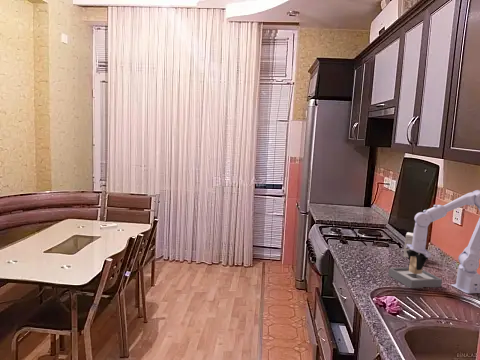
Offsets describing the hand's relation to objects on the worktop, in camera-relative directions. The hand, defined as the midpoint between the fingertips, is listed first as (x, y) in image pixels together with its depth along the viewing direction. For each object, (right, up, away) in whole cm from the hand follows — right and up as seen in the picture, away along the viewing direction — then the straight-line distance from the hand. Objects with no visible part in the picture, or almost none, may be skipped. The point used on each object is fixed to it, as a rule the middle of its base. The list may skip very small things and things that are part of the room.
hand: (415, 267), depth 191 cm
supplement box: (+14, -2, +40) cm, 43 cm away
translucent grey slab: (+15, -4, +27) cm, 31 cm away
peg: (0, -2, 0) cm, 2 cm away
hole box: (0, -6, +1) cm, 6 cm away
